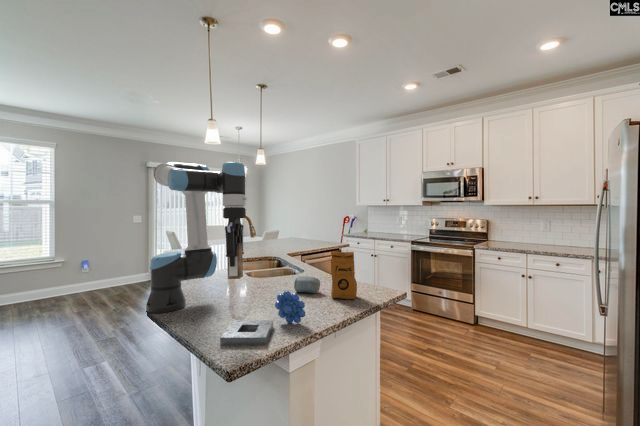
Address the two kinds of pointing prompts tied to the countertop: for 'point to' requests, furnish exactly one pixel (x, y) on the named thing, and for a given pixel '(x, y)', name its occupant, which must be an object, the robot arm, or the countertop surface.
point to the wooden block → (240, 262)
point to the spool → (307, 284)
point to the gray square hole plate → (247, 333)
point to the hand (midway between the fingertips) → (235, 274)
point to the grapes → (290, 307)
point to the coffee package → (343, 276)
